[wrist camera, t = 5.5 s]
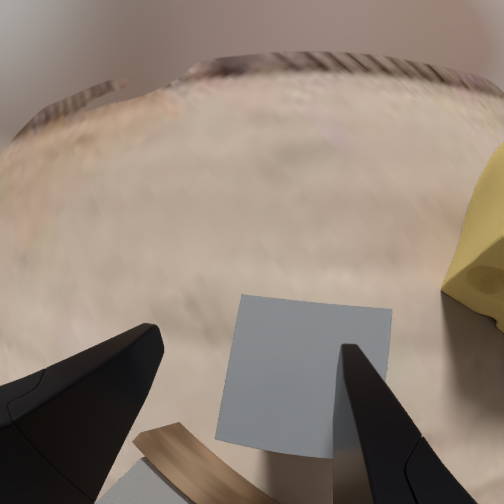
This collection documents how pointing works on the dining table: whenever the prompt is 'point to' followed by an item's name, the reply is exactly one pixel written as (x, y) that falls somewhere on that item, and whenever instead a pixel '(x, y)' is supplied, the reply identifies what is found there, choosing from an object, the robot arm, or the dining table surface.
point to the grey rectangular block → (293, 371)
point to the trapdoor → (144, 487)
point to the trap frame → (196, 468)
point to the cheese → (482, 247)
